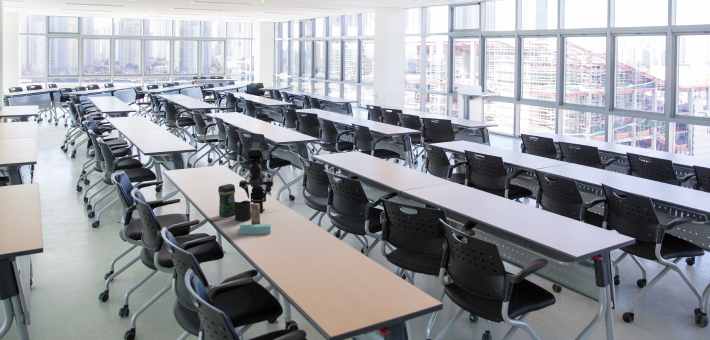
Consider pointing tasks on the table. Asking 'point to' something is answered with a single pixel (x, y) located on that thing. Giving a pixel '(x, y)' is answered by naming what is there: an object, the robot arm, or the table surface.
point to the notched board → (255, 229)
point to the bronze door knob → (255, 213)
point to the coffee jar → (226, 200)
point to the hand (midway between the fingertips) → (257, 198)
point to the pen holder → (242, 210)
